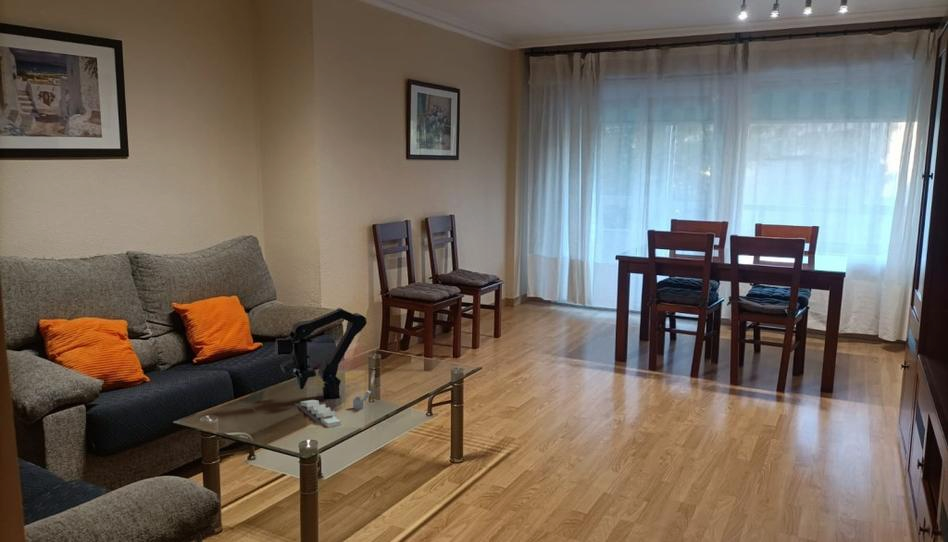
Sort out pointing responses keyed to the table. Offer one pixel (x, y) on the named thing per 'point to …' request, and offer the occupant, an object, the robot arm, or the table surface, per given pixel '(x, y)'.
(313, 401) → the tile
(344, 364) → the table surface
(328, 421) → the tile
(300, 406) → the runner
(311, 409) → the tile
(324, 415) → the tile
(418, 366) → the table surface
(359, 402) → the lighter
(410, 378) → the table surface
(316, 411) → the tile
